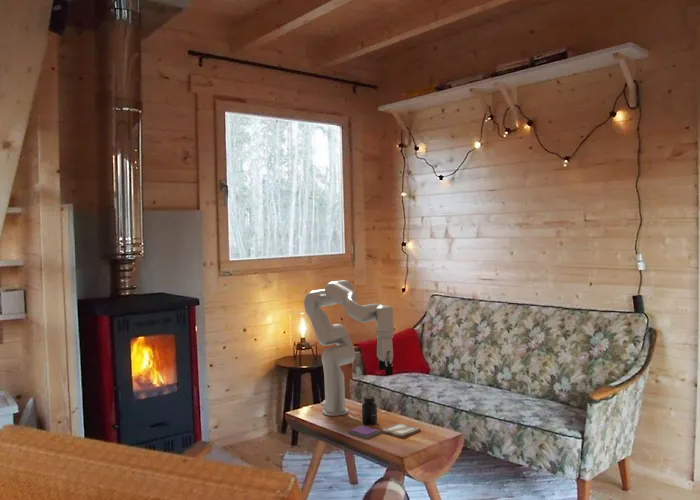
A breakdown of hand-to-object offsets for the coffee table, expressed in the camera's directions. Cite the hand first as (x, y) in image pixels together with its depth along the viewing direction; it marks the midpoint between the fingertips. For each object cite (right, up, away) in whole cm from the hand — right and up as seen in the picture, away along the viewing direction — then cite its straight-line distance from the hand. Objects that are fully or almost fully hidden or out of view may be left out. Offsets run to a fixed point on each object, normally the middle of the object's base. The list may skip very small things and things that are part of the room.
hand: (385, 372), depth 275 cm
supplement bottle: (-7, -25, +7) cm, 27 cm away
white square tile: (+6, -25, -5) cm, 26 cm away
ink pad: (-10, -25, -6) cm, 28 cm away
